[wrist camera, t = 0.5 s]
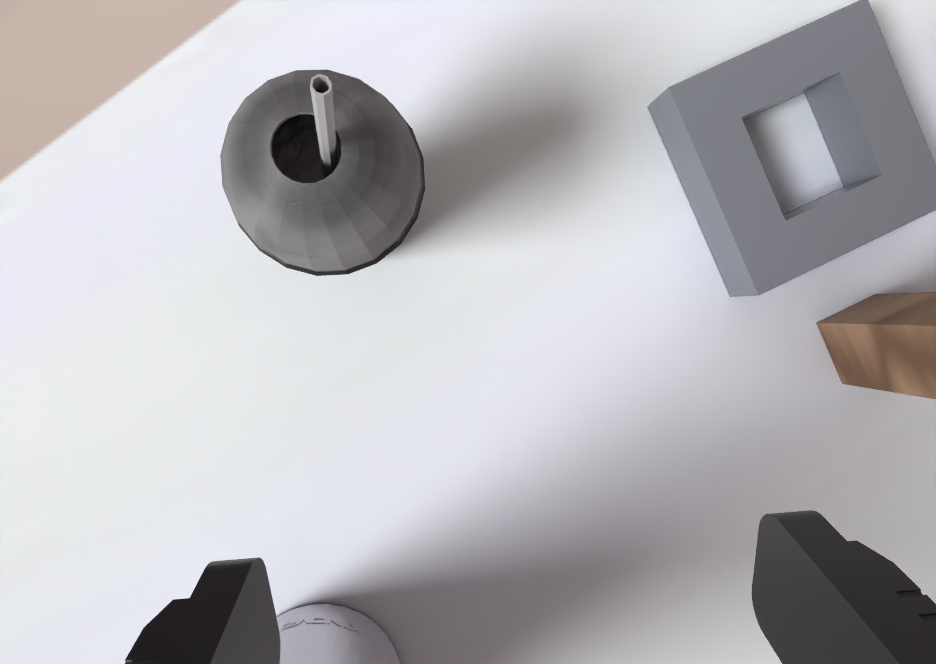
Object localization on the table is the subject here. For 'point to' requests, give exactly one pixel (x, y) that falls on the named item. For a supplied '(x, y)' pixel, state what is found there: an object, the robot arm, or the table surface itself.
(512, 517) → the table surface
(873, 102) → the socket
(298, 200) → the beverage cup
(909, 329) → the peg
